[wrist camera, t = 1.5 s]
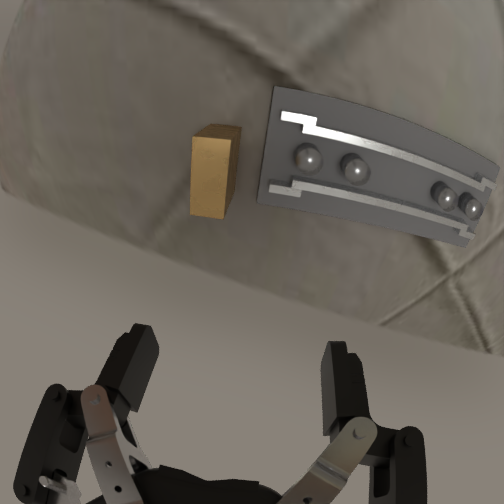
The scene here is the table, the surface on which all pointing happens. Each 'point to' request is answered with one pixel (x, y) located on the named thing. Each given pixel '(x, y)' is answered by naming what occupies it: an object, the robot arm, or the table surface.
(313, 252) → the table surface
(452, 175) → the grey studded track end
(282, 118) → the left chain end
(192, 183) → the tall wooden block
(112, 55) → the table surface
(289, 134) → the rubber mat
